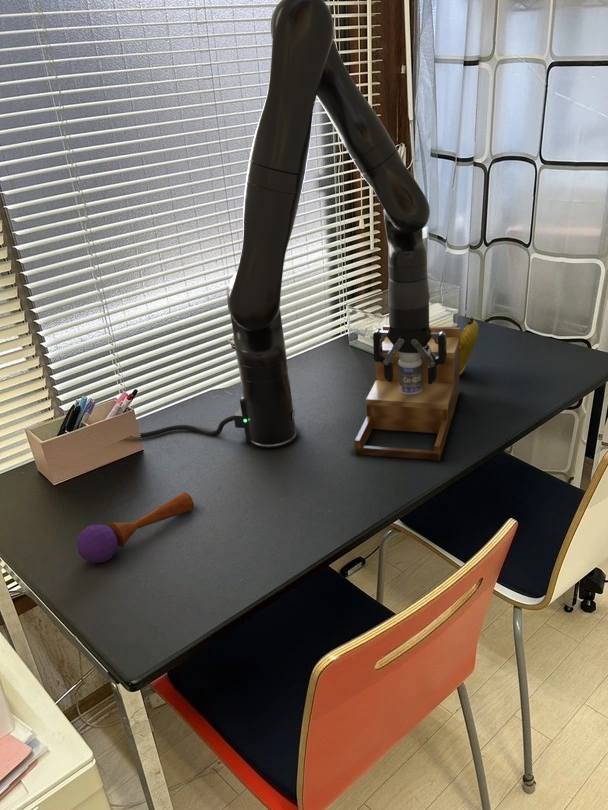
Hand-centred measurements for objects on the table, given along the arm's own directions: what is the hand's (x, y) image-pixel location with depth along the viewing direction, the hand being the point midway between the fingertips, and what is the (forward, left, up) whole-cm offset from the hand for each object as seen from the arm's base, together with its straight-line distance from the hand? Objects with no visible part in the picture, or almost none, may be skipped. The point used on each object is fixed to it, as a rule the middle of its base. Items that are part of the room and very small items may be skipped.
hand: (410, 381), depth 139 cm
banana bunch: (+6, +22, -9) cm, 24 cm away
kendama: (-37, -46, -9) cm, 59 cm away
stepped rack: (0, -1, -8) cm, 9 cm away
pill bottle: (0, 0, -2) cm, 2 cm away
